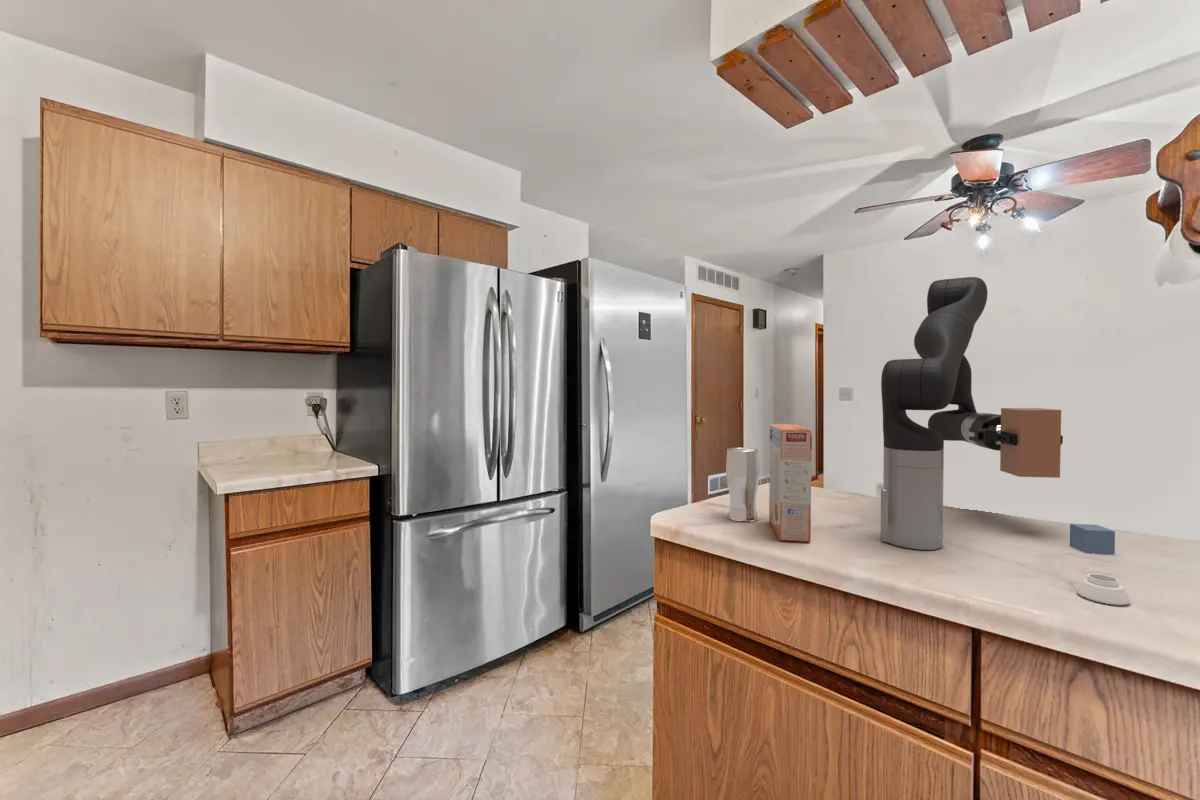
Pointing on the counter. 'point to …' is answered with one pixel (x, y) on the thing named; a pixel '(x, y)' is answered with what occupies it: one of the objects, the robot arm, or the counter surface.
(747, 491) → the beer glass
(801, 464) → the cracker box
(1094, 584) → the lidless jar
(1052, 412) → the brown rectangular block
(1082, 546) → the blue rectangular block
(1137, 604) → the counter surface
